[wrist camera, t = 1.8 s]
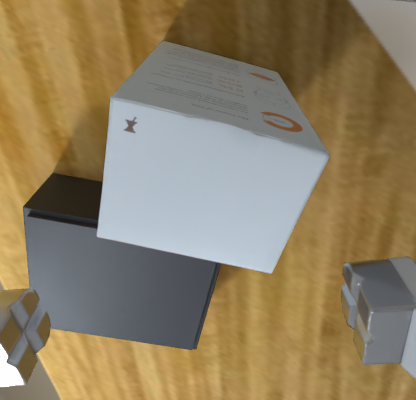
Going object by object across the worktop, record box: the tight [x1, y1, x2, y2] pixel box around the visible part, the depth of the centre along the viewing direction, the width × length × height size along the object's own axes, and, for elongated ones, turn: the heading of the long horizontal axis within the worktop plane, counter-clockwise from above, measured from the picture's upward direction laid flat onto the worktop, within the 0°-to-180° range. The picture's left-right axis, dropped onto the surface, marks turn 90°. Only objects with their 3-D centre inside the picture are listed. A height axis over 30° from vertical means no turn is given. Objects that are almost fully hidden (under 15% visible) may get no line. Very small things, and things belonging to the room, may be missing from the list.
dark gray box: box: [23, 173, 221, 350], centre depth 30 cm, size 14×12×5 cm
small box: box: [97, 41, 330, 274], centre depth 19 cm, size 8×6×13 cm
